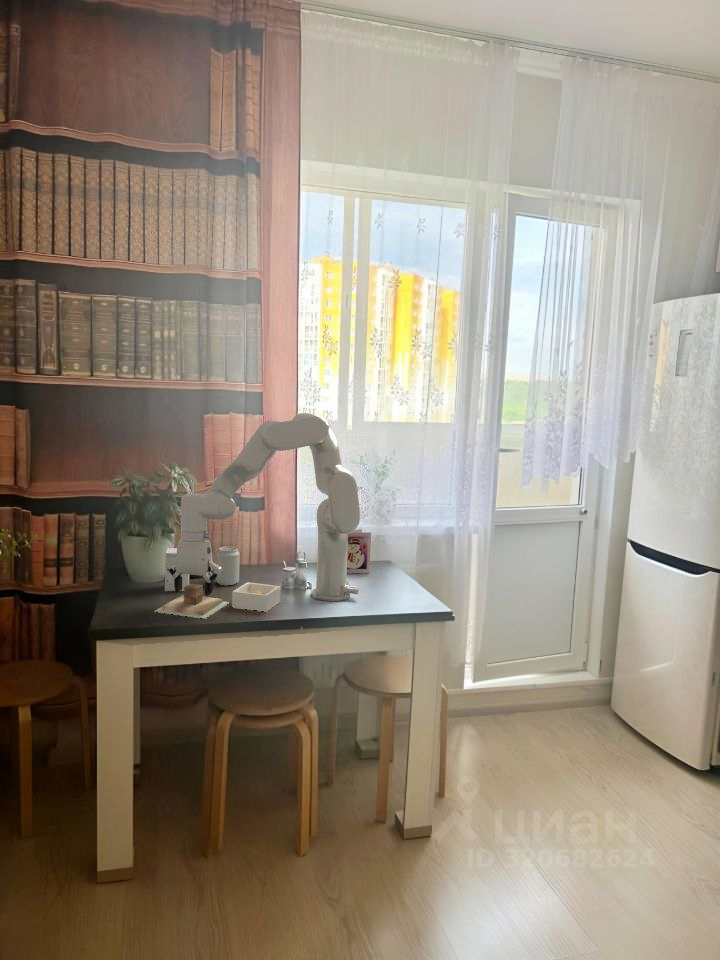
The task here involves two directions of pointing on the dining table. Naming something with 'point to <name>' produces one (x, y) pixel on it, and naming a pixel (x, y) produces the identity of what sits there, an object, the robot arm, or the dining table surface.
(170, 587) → the supplement box
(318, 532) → the robot arm
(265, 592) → the dish
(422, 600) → the dining table surface
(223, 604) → the mat
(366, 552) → the greeting card
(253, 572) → the dining table surface
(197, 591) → the lid
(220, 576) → the can
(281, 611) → the dining table surface
